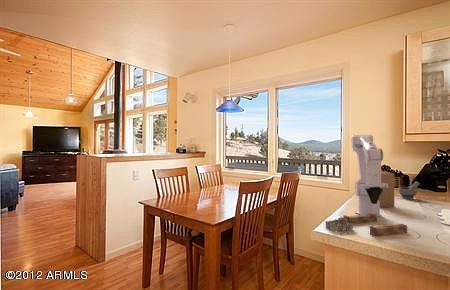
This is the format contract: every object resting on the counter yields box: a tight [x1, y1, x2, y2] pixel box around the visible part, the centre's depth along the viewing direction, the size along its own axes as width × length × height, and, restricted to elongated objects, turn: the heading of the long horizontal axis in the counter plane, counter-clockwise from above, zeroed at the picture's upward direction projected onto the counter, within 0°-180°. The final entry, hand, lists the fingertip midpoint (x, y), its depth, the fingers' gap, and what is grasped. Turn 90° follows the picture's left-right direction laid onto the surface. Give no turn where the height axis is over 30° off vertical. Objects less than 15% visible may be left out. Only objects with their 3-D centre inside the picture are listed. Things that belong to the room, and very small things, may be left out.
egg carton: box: [324, 217, 355, 232], centre depth 101 cm, size 11×8×4 cm
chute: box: [343, 214, 408, 237], centre depth 102 cm, size 17×17×4 cm
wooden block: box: [378, 170, 395, 208], centre depth 137 cm, size 10×10×20 cm
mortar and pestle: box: [397, 181, 421, 201], centre depth 152 cm, size 11×9×12 cm
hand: (373, 203), depth 106 cm, fingers closed
